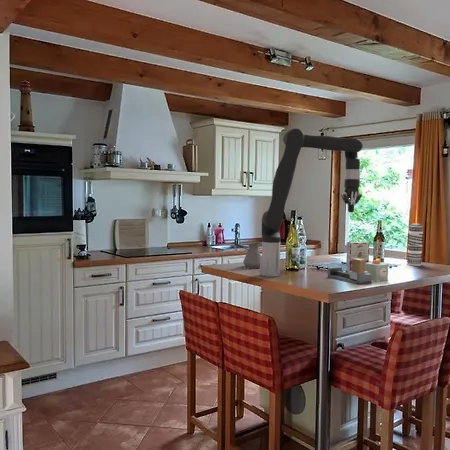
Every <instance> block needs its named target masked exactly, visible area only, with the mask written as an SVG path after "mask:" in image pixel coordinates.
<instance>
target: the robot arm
mask: <svg viewBox="0 0 450 450" xmlns="http://www.w3.org/2000/svg"><path fill="white" fill-rule="evenodd" d="M282 140H283V143H284V145H285V147H284V152H283V155H282V157H281V159H280V161H279V164H278V166H277V168H276V169H275V173H274V177H273V181H272V186H271V187H272V188H271V200H270V204H269V208H268V209H267V210H266V211H265V212H264V213H263V214H262V217H261V239H262V242H261V243H262V244H261V249H262V250H261V257H260V268H259V275H260V276H263V277H267V278H268V277H269V278H271V277H272V278H273V277H274V278H275V277H280V273H281V268H280V267H281V239H282V238H281V235H280V234H281V233H280V227H281V225H282V224H283V221H284V214H285V207H286V203H287V200H288V197H289V194H290V190H291V188H292V187H291V186H292V184H293V180H294V175H295V172H296V169H297V168H296V167H297V161H298V157H299V155H300V152H301V149H302V148H309V149H310V148H311V149H319V150H325V151H332V152H333V151H334V152H344V157H345V172H344V188H345V189H344V192H343V193H341V194H340V197H341V199H342V200H343V202H344V203H345V204H347V211H348V213H354V212H355V205H356V204H358V203H359V202H360V200H361V198H362V196H363V195H362V193H361V194H360V190H359V188H360V181H361V178H360V177H361V171H360V166H361V161H360V158H359V155H358V153H360V151H362V150H363V147H364V145H363V142H362V140H360V139H359V138H353V137H338V136H331V135H311V134H305V133H304V132H303V130H301V129H300V128H297V127H296V128H292V129H290V130H288V131H286V133H284V135H283V137H282Z"/></svg>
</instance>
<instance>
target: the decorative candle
mask: <svg viewBox="0 0 450 450" xmlns="http://www.w3.org/2000/svg"><path fill="white" fill-rule="evenodd" d="M408 226H409V229H408V233H407V238H408V239H407V246H408V247H407V249H408V250H407V253H406V254H407V258H406V265H408V266H412V267H413V266H415V267H419V266H420V267H421V266H422V264H423V262H422V261H423V259H422V258H423V251H422V249H423V248H422V247H423V245H424V243H423V242H424V237H423V236H425V235H424V233H423V232H424V231H423V230H424V228H423V227H424V225H422V224H421V223H411V224H410V225H408Z"/></svg>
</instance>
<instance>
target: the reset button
mask: <svg viewBox="0 0 450 450" xmlns="http://www.w3.org/2000/svg"><path fill="white" fill-rule="evenodd" d="M372 262H373V264H380V263H381V260H379V259H373V260H372Z"/></svg>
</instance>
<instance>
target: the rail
mask: <svg viewBox="0 0 450 450" xmlns="http://www.w3.org/2000/svg"><path fill="white" fill-rule="evenodd" d="M327 277H328V278H332V279H335V280H339V281H343V282H347V283H352V284H353V285H359V286H361V285H363V286H364V285H371V284H372V283H373V281H372V274H370V273H369V274H358V275H357V280H355V279H351V278H350V275H349V274H348V272H347V271H343V267H341V266H336V267H335V266H334V267H328V268H327Z"/></svg>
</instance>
